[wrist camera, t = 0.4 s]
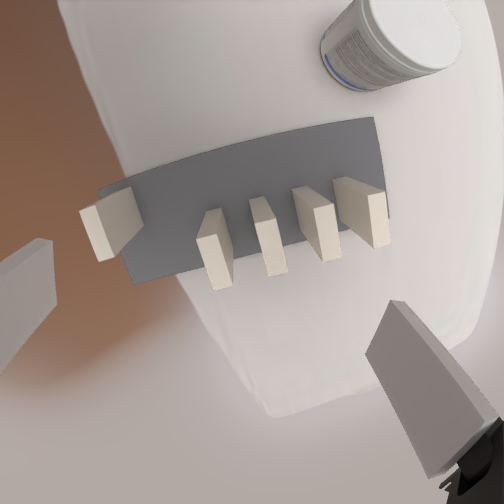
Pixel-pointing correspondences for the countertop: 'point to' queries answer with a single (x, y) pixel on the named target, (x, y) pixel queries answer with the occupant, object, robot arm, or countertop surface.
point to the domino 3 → (268, 236)
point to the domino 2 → (216, 249)
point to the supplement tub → (390, 42)
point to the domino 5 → (363, 210)
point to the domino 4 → (318, 222)
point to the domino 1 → (112, 223)
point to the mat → (242, 192)
